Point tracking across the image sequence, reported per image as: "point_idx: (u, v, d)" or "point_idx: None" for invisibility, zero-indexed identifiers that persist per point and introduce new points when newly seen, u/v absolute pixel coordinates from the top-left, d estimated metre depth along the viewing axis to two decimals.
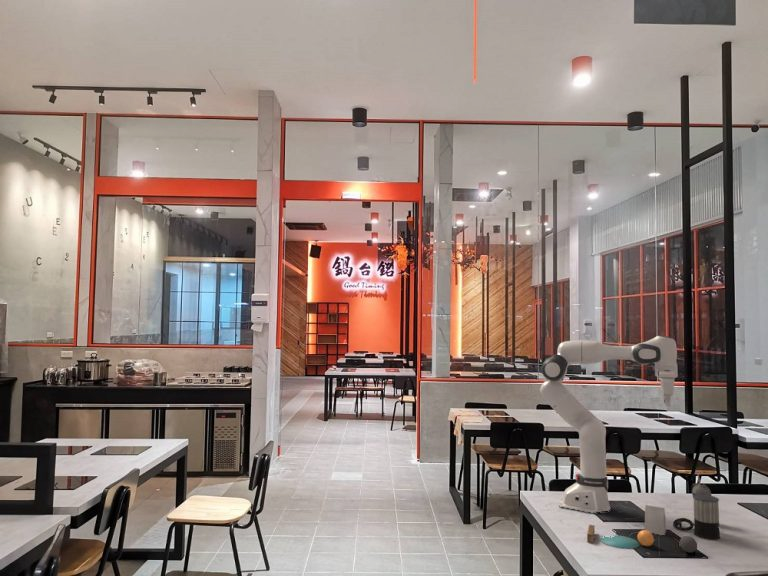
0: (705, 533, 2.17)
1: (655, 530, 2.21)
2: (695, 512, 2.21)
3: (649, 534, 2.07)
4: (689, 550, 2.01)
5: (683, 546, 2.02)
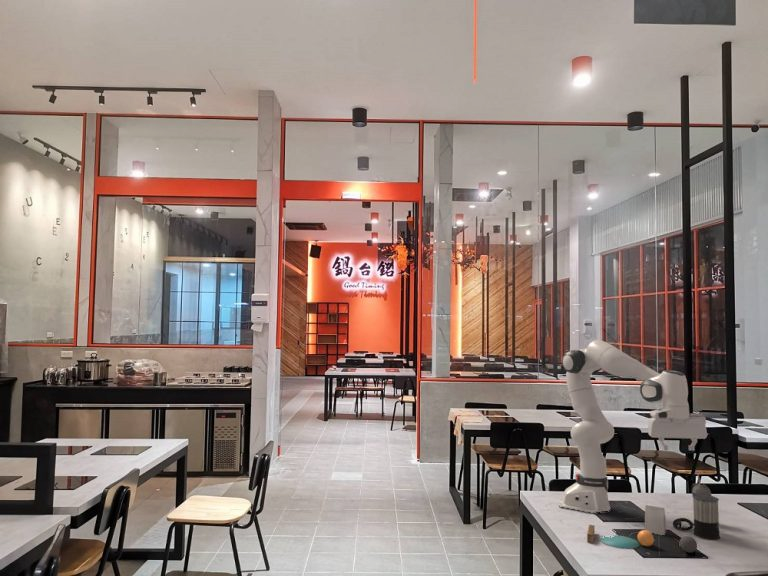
0: (704, 533, 2.17)
1: (655, 530, 2.21)
2: (695, 512, 2.21)
3: (649, 534, 2.07)
4: (689, 550, 2.01)
5: (683, 546, 2.02)
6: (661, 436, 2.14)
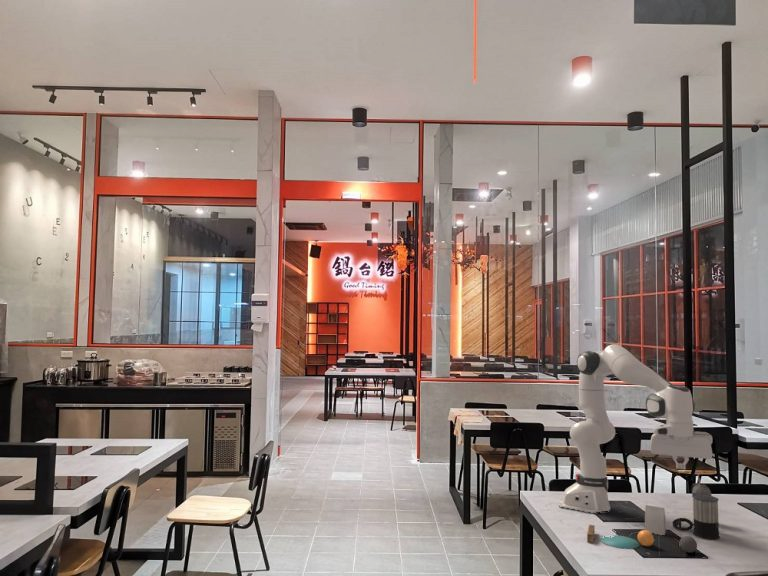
0: (704, 533, 2.17)
1: (655, 530, 2.21)
2: (694, 512, 2.21)
3: (649, 534, 2.07)
4: (689, 550, 2.01)
5: (683, 546, 2.02)
6: (661, 453, 2.07)
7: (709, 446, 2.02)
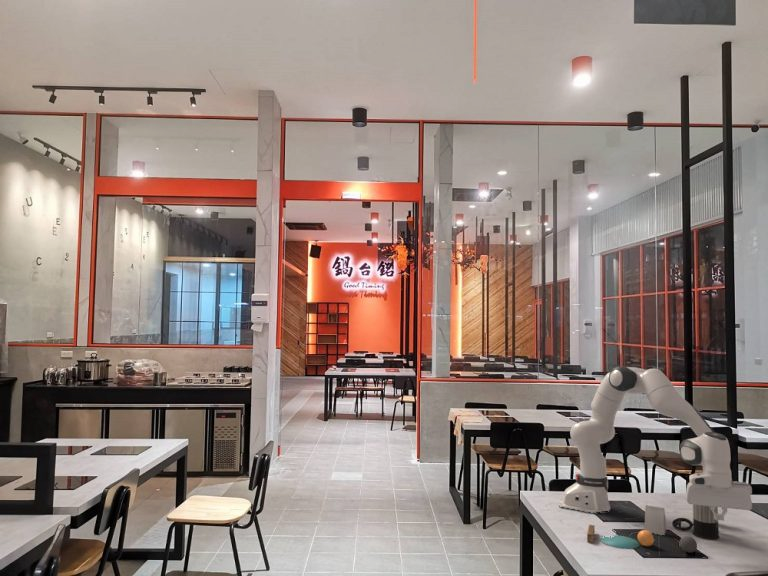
0: (704, 533, 2.17)
1: (655, 530, 2.21)
2: (694, 512, 2.21)
3: (649, 534, 2.07)
4: (689, 550, 2.01)
5: (683, 546, 2.02)
6: (698, 503, 2.01)
7: (749, 497, 1.96)
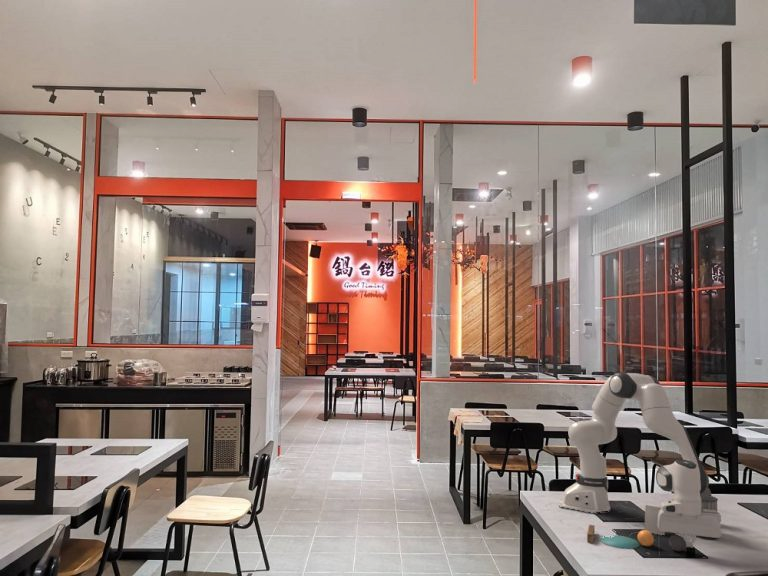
0: None
1: (655, 530, 2.21)
2: None
3: (649, 534, 2.07)
4: (681, 548, 2.01)
5: (675, 549, 2.02)
6: (669, 530, 2.04)
7: (718, 525, 1.99)
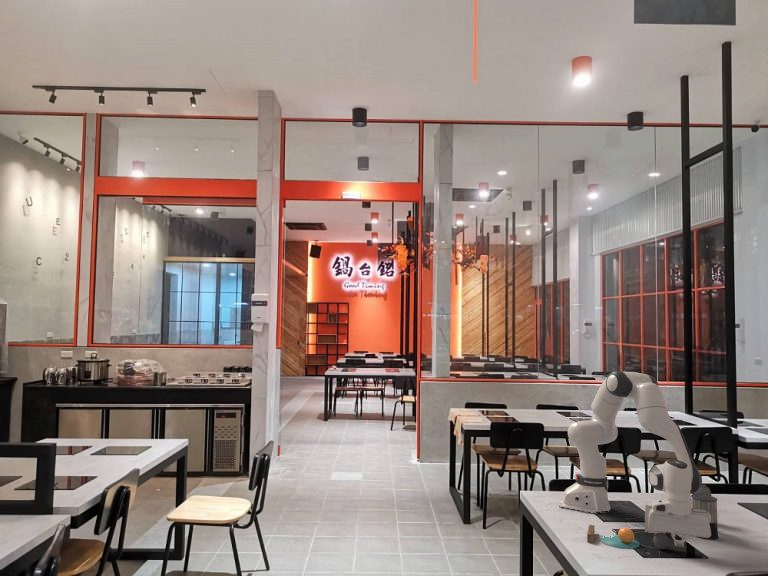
0: None
1: None
2: None
3: (619, 536, 2.11)
4: (665, 541, 2.03)
5: (667, 546, 2.03)
6: (659, 530, 2.05)
7: (708, 525, 2.00)
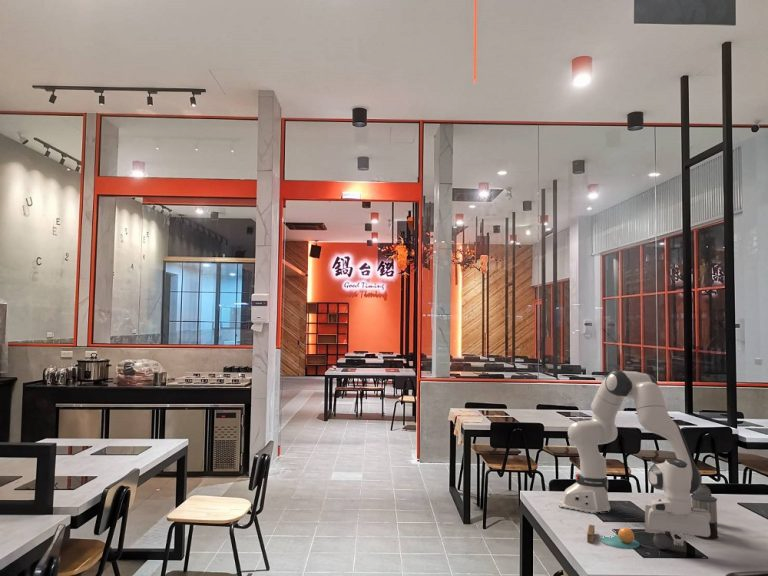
0: None
1: (655, 530, 2.21)
2: None
3: (619, 536, 2.11)
4: (665, 541, 2.03)
5: (667, 546, 2.03)
6: (659, 529, 2.05)
7: (707, 524, 2.00)
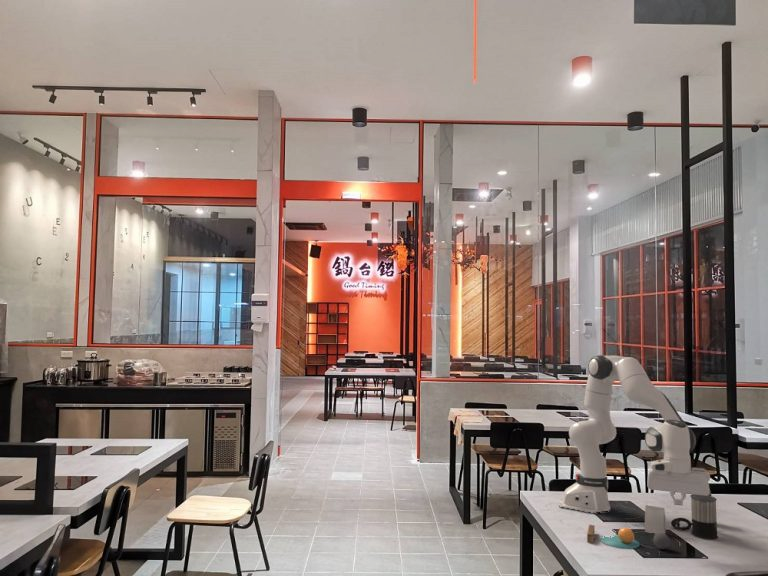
0: (702, 533, 2.17)
1: (655, 530, 2.21)
2: (693, 512, 2.21)
3: (619, 536, 2.11)
4: (665, 541, 2.03)
5: (667, 546, 2.03)
6: (658, 489, 2.07)
7: (706, 483, 2.01)
